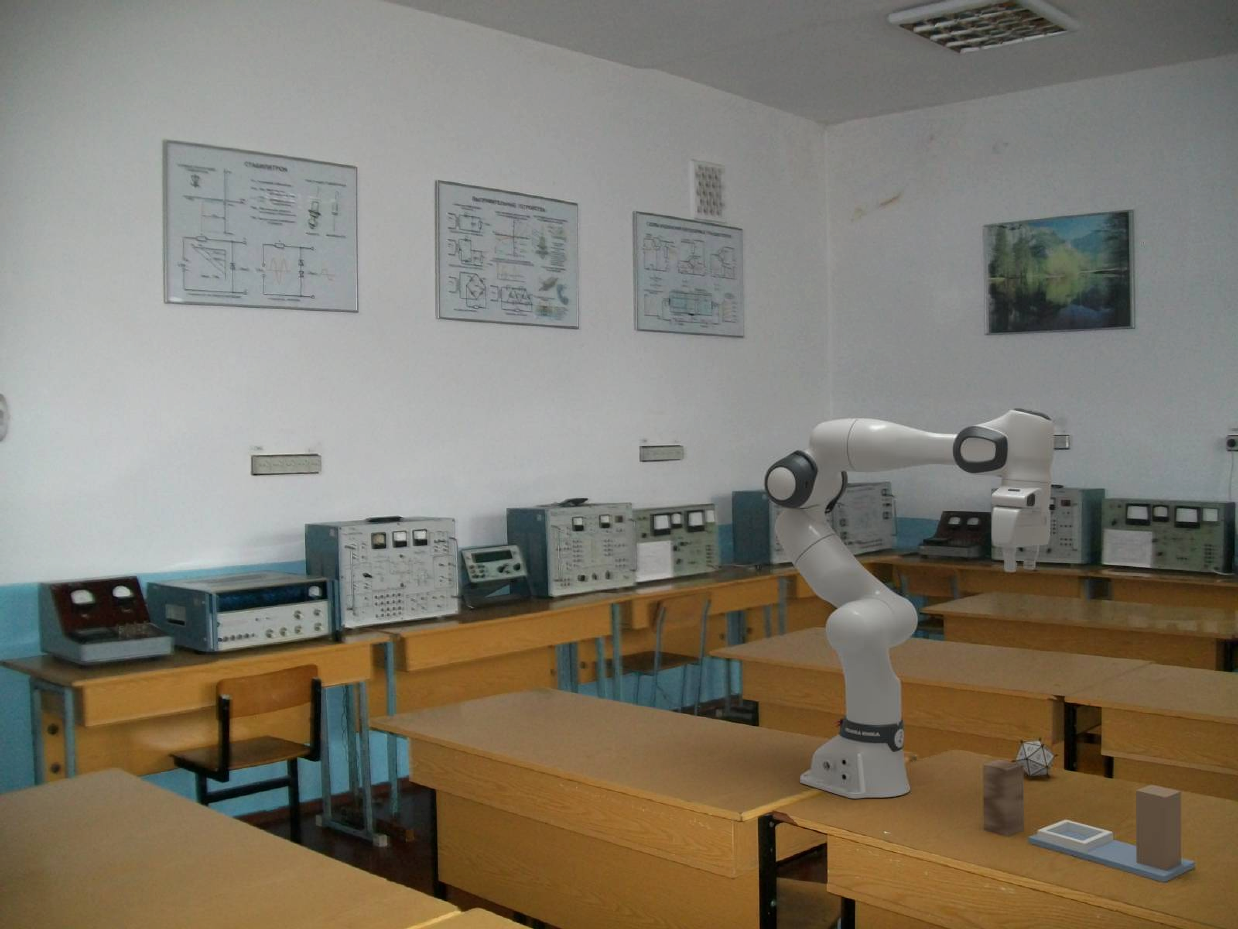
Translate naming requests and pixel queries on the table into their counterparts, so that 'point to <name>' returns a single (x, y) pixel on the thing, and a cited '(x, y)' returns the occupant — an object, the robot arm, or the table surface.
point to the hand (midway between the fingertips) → (1019, 570)
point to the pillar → (1003, 797)
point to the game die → (1035, 758)
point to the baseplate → (1148, 858)
